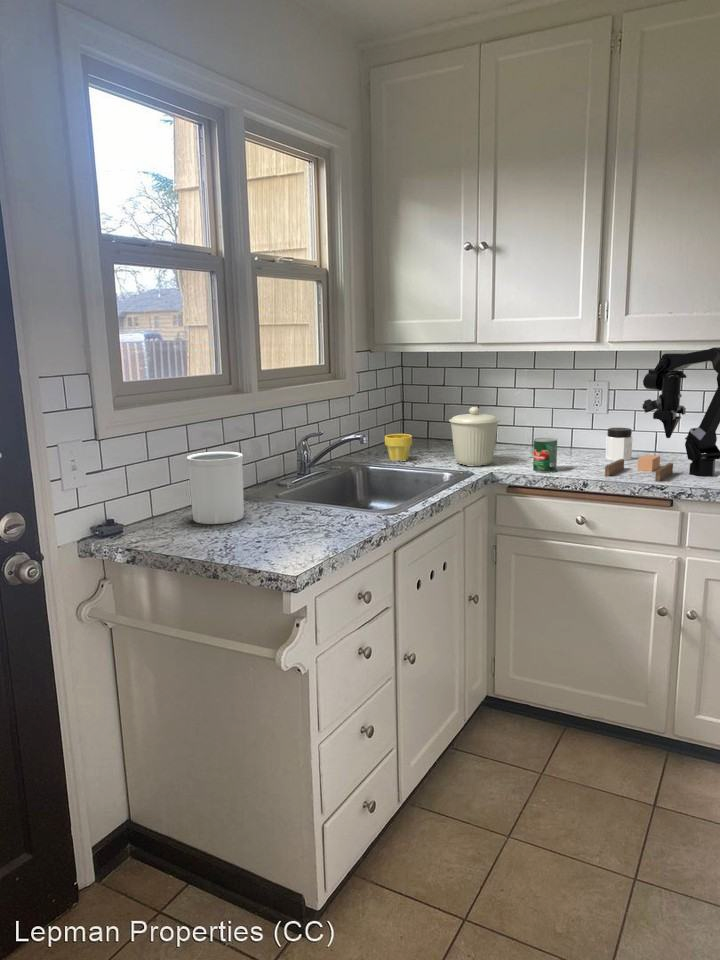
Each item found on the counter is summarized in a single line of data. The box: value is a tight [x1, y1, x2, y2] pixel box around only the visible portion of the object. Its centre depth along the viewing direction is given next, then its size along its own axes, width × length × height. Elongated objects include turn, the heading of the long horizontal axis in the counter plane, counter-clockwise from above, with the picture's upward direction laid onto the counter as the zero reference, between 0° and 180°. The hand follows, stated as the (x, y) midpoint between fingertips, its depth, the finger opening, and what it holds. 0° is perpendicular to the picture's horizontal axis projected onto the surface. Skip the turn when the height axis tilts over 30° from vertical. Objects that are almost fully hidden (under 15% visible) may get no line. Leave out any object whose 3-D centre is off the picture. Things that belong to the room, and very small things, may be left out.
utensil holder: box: [186, 451, 245, 525], centre depth 197 cm, size 15×15×18 cm
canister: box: [448, 406, 500, 467], centre depth 264 cm, size 18×18×21 cm
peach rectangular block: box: [637, 454, 661, 473], centre depth 243 cm, size 5×9×4 cm, turn 143°
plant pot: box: [384, 433, 413, 461], centre depth 276 cm, size 10×10×10 cm
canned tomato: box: [532, 437, 558, 474], centre depth 250 cm, size 8×8×11 cm
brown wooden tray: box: [604, 459, 674, 483], centre depth 234 cm, size 18×15×4 cm
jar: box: [604, 427, 633, 462], centre depth 262 cm, size 9×8×12 cm
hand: (668, 437), depth 244 cm, fingers closed
